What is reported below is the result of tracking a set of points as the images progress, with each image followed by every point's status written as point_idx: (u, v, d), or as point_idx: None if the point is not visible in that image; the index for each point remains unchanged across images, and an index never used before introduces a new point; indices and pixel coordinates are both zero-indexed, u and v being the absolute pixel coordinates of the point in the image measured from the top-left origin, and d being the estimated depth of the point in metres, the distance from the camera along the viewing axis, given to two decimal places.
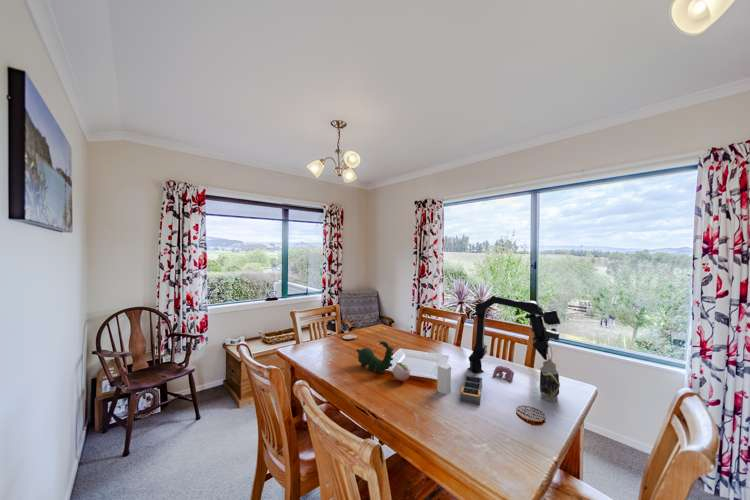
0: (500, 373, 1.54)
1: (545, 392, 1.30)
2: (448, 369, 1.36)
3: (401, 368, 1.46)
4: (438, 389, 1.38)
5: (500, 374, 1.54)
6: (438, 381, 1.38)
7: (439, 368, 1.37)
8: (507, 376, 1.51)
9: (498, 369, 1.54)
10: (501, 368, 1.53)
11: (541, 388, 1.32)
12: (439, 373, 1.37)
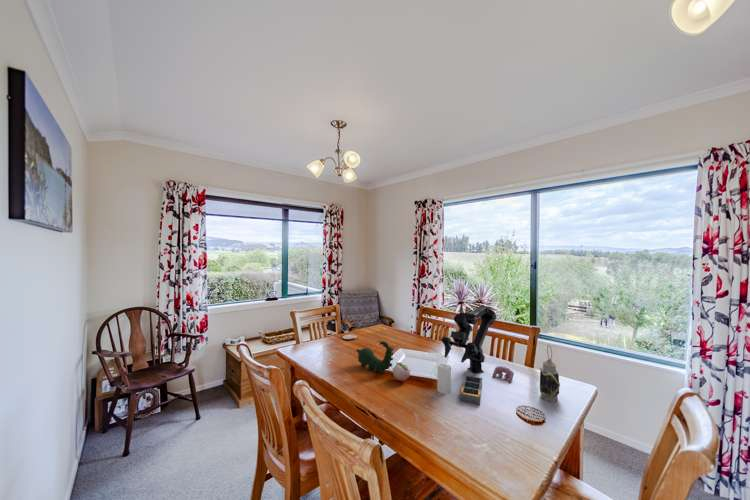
0: (500, 373, 1.53)
1: (545, 392, 1.30)
2: (448, 369, 1.36)
3: (401, 368, 1.46)
4: (438, 389, 1.38)
5: (500, 374, 1.53)
6: (438, 381, 1.38)
7: (439, 368, 1.37)
8: (507, 376, 1.51)
9: (498, 369, 1.54)
10: (501, 368, 1.53)
11: (541, 388, 1.32)
12: (439, 373, 1.37)
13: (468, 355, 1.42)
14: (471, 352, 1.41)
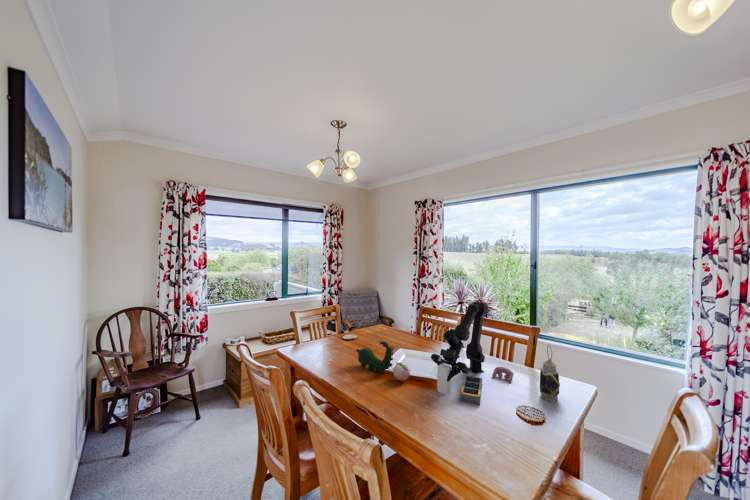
0: (499, 374, 1.53)
1: (545, 392, 1.30)
2: (448, 369, 1.36)
3: (401, 368, 1.46)
4: (438, 389, 1.38)
5: (499, 375, 1.53)
6: (438, 381, 1.38)
7: (439, 368, 1.37)
8: (506, 377, 1.50)
9: (497, 370, 1.53)
10: (500, 369, 1.52)
11: (541, 388, 1.32)
12: (439, 373, 1.37)
13: (454, 373, 1.37)
14: (457, 370, 1.36)
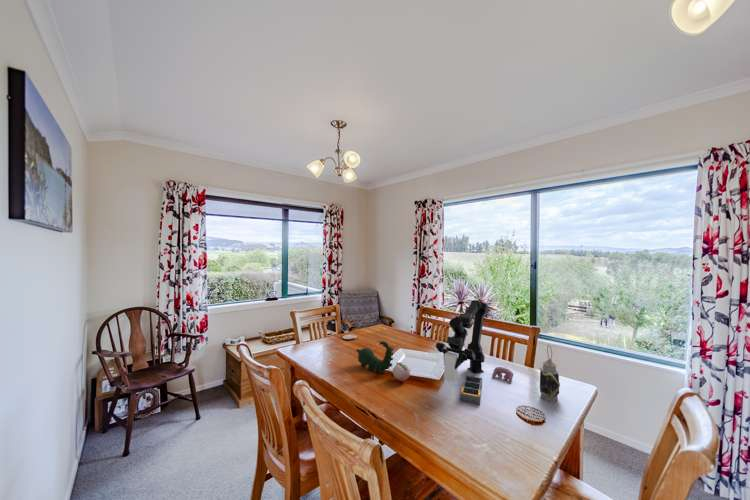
0: (499, 374, 1.53)
1: (545, 392, 1.30)
2: (455, 357, 1.34)
3: (401, 368, 1.46)
4: (445, 377, 1.35)
5: (499, 375, 1.52)
6: (445, 369, 1.35)
7: (446, 356, 1.35)
8: (506, 377, 1.50)
9: (497, 370, 1.53)
10: (500, 369, 1.52)
11: (541, 388, 1.32)
12: (446, 361, 1.35)
13: (461, 361, 1.35)
14: (464, 357, 1.35)
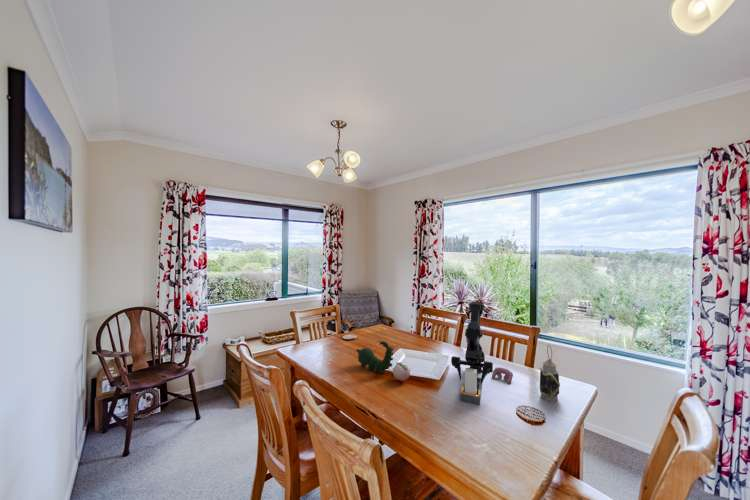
0: (499, 375, 1.52)
1: (545, 392, 1.30)
2: (476, 373, 1.30)
3: (401, 368, 1.46)
4: None
5: (499, 376, 1.52)
6: (466, 387, 1.30)
7: (467, 373, 1.30)
8: (506, 378, 1.49)
9: (497, 370, 1.52)
10: (500, 369, 1.51)
11: (541, 388, 1.32)
12: (467, 378, 1.30)
13: (485, 375, 1.31)
14: (488, 371, 1.31)
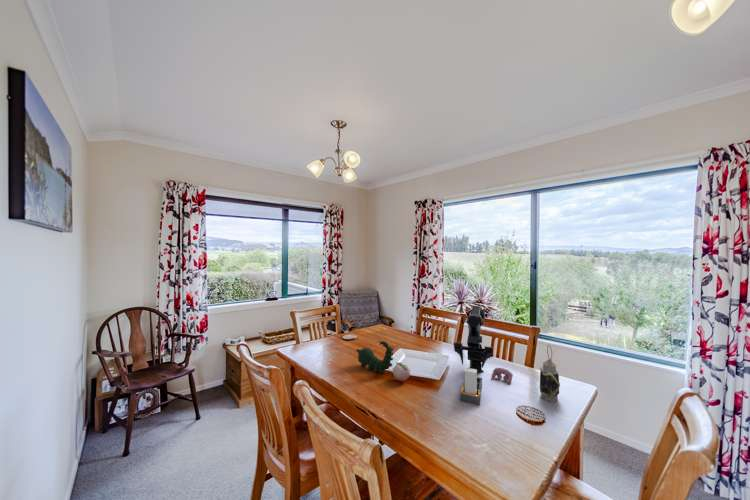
0: (498, 375, 1.52)
1: (545, 392, 1.30)
2: (476, 373, 1.30)
3: (401, 368, 1.46)
4: None
5: (498, 376, 1.51)
6: (466, 387, 1.30)
7: (467, 373, 1.30)
8: (506, 378, 1.49)
9: (496, 371, 1.52)
10: (499, 370, 1.51)
11: (541, 388, 1.32)
12: (467, 378, 1.30)
13: (485, 359, 1.40)
14: (488, 355, 1.40)
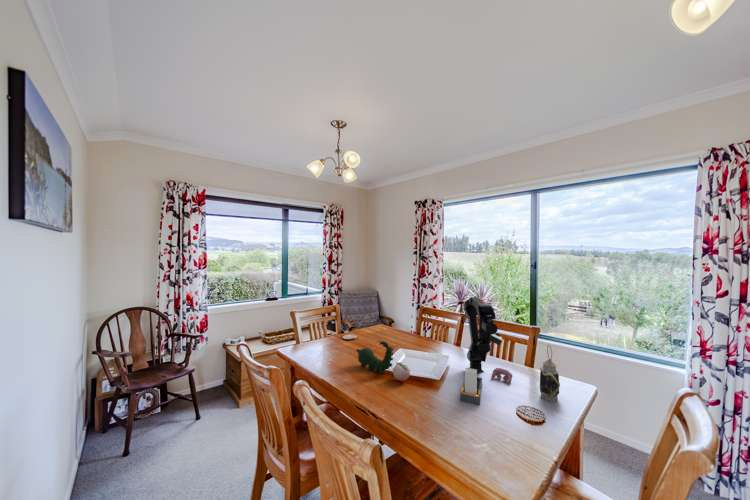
0: (498, 375, 1.51)
1: (545, 392, 1.30)
2: (476, 373, 1.30)
3: (401, 368, 1.46)
4: None
5: (498, 376, 1.51)
6: (466, 387, 1.30)
7: (467, 373, 1.30)
8: (505, 378, 1.49)
9: (496, 371, 1.51)
10: (499, 370, 1.50)
11: (541, 388, 1.32)
12: (467, 378, 1.30)
13: None
14: None
